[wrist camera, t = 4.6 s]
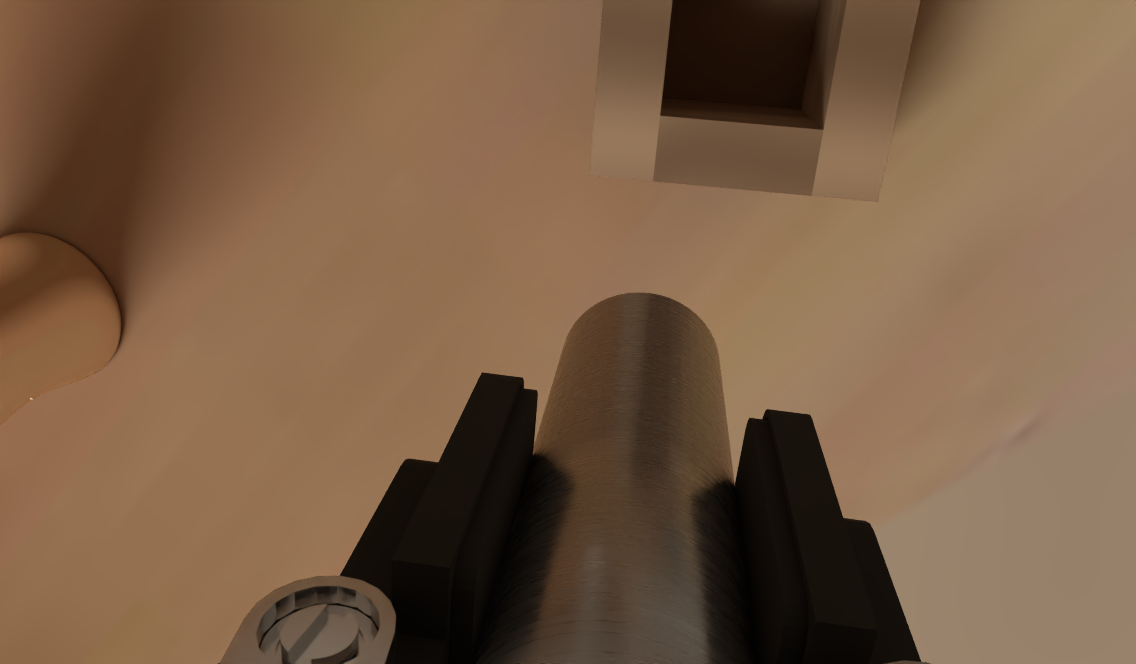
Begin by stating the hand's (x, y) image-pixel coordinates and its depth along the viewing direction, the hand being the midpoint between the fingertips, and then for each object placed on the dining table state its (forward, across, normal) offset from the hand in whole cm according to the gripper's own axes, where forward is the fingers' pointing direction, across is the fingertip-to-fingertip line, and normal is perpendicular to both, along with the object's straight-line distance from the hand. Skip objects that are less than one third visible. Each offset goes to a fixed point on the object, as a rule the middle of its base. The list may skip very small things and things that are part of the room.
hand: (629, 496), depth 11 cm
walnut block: (+19, -2, -5) cm, 20 cm away
